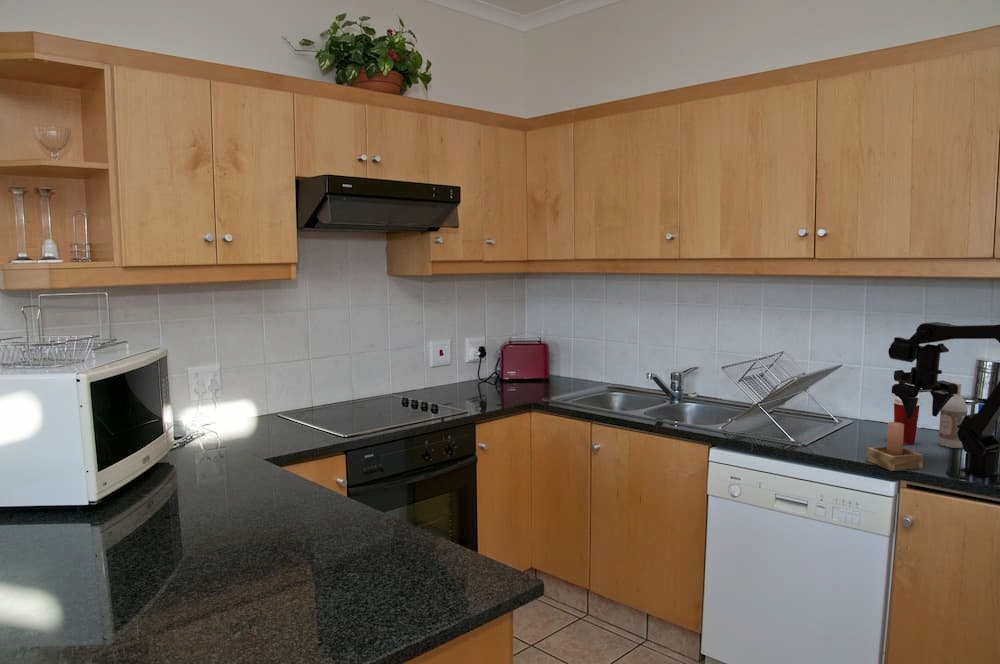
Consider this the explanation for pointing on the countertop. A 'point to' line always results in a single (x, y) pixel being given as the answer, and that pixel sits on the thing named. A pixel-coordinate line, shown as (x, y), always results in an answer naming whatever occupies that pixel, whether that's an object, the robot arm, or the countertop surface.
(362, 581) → the countertop surface
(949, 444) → the bath foam
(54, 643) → the countertop surface
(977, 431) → the robot arm
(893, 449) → the peg
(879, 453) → the box
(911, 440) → the paper cup
